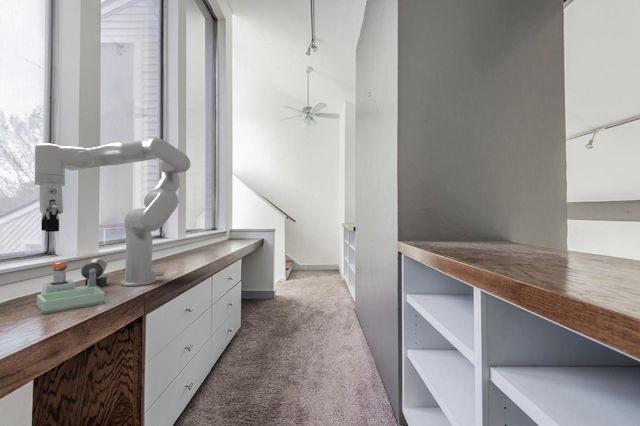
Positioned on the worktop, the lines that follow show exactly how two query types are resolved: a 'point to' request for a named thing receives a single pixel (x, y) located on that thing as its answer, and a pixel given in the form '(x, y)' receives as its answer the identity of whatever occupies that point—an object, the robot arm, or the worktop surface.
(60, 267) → the lock pin
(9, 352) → the worktop surface
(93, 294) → the tray
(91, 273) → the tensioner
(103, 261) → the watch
